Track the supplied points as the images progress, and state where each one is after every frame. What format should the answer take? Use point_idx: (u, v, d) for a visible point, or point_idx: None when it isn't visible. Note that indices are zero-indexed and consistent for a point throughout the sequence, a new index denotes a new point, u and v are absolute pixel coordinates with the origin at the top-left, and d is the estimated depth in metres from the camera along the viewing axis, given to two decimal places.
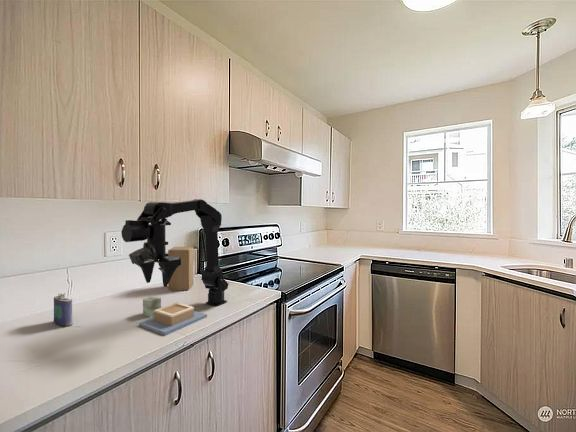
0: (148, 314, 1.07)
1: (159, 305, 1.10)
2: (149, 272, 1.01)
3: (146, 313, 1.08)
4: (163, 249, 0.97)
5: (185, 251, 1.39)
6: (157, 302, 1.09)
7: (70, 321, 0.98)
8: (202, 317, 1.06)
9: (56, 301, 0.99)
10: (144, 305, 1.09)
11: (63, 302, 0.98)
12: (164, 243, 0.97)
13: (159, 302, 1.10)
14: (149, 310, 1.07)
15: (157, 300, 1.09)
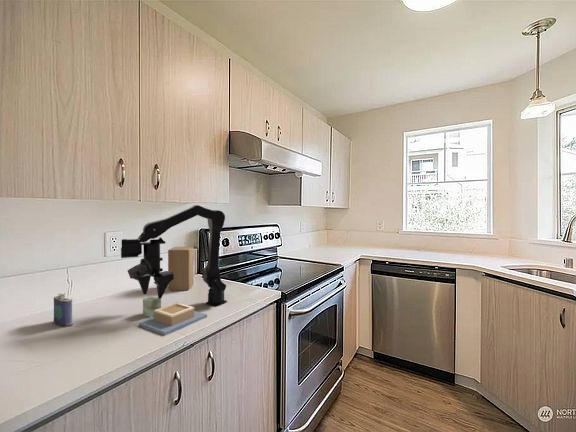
0: (148, 314, 1.07)
1: (159, 305, 1.10)
2: (146, 285, 1.12)
3: (146, 313, 1.08)
4: (158, 264, 1.09)
5: (185, 251, 1.39)
6: (157, 302, 1.09)
7: (70, 321, 0.98)
8: (202, 317, 1.06)
9: (56, 301, 0.99)
10: (144, 305, 1.09)
11: (63, 302, 0.98)
12: (159, 259, 1.09)
13: (159, 302, 1.10)
14: (149, 310, 1.07)
15: (157, 300, 1.09)
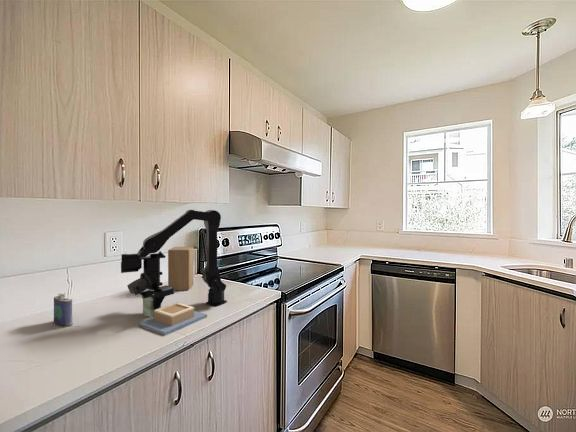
0: (148, 314, 1.07)
1: None
2: None
3: (146, 313, 1.08)
4: (158, 279, 1.09)
5: (185, 251, 1.39)
6: None
7: (70, 321, 0.98)
8: (202, 317, 1.06)
9: (56, 301, 0.99)
10: (144, 305, 1.09)
11: (63, 302, 0.98)
12: (159, 273, 1.09)
13: None
14: (149, 310, 1.07)
15: None
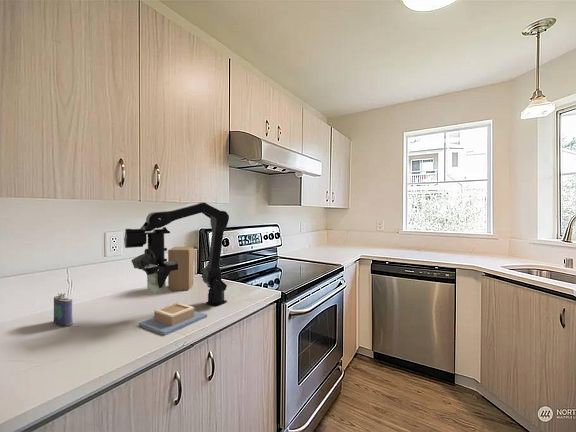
0: (152, 290, 1.06)
1: None
2: None
3: (150, 289, 1.06)
4: (162, 254, 1.07)
5: (185, 251, 1.39)
6: None
7: (70, 321, 0.98)
8: (202, 317, 1.06)
9: (56, 301, 0.99)
10: (148, 281, 1.07)
11: (63, 302, 0.98)
12: (163, 249, 1.07)
13: None
14: (153, 286, 1.06)
15: None
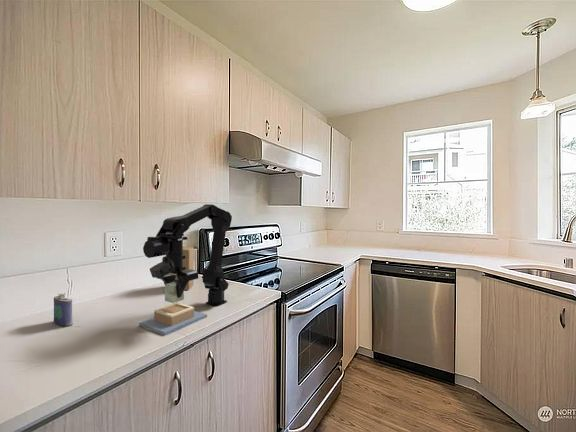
0: (171, 300, 1.01)
1: None
2: None
3: (168, 299, 1.01)
4: (181, 262, 1.02)
5: (185, 251, 1.39)
6: None
7: (70, 321, 0.98)
8: (202, 317, 1.06)
9: (56, 301, 0.99)
10: (166, 290, 1.02)
11: (63, 302, 0.98)
12: (182, 257, 1.02)
13: None
14: (171, 296, 1.00)
15: None
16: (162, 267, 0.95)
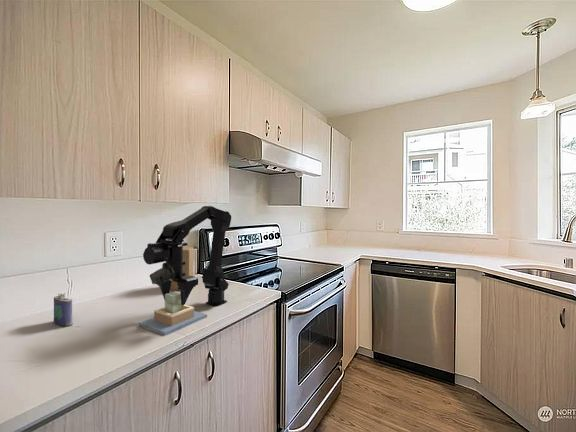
0: (171, 310, 1.01)
1: None
2: (167, 290, 1.06)
3: (168, 309, 1.01)
4: (181, 269, 1.02)
5: (185, 251, 1.39)
6: (180, 298, 1.03)
7: (70, 321, 0.98)
8: (202, 317, 1.06)
9: (56, 301, 0.99)
10: (166, 301, 1.02)
11: (63, 302, 0.98)
12: (182, 263, 1.02)
13: None
14: (171, 306, 1.00)
15: (180, 295, 1.03)
16: (162, 274, 0.95)
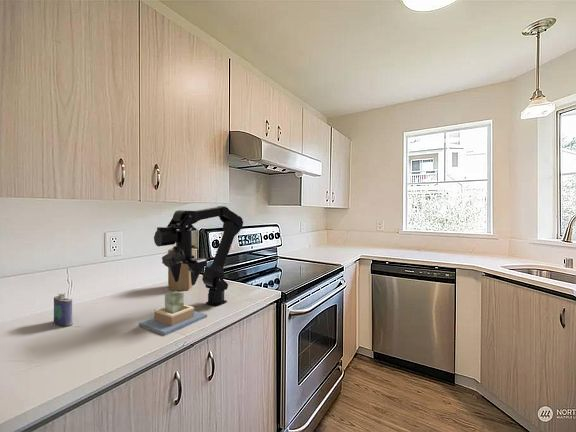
0: (171, 310, 1.01)
1: (182, 301, 1.03)
2: (177, 272, 1.13)
3: (168, 309, 1.01)
4: (190, 251, 1.09)
5: None
6: (180, 298, 1.03)
7: (70, 321, 0.98)
8: (202, 317, 1.06)
9: (56, 301, 0.99)
10: (166, 301, 1.02)
11: (63, 302, 0.98)
12: (191, 246, 1.10)
13: (182, 297, 1.03)
14: (171, 306, 1.00)
15: (180, 295, 1.03)
16: (174, 255, 1.02)
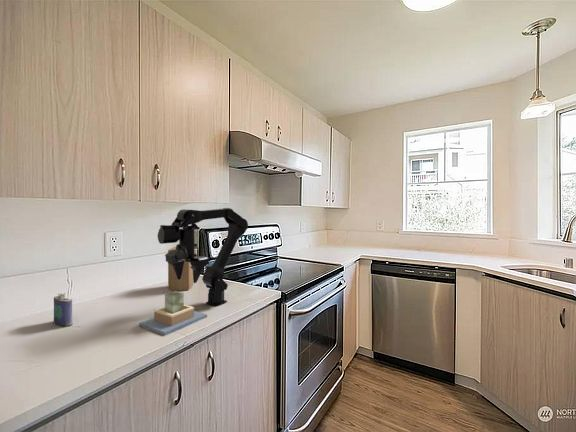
0: (171, 310, 1.01)
1: (182, 301, 1.03)
2: (180, 270, 1.15)
3: (168, 309, 1.01)
4: (193, 250, 1.11)
5: None
6: (180, 298, 1.03)
7: (70, 321, 0.98)
8: (202, 317, 1.06)
9: (56, 301, 0.99)
10: (166, 301, 1.02)
11: (63, 302, 0.98)
12: (194, 245, 1.12)
13: (182, 297, 1.03)
14: (171, 306, 1.00)
15: (180, 295, 1.03)
16: (177, 253, 1.04)
